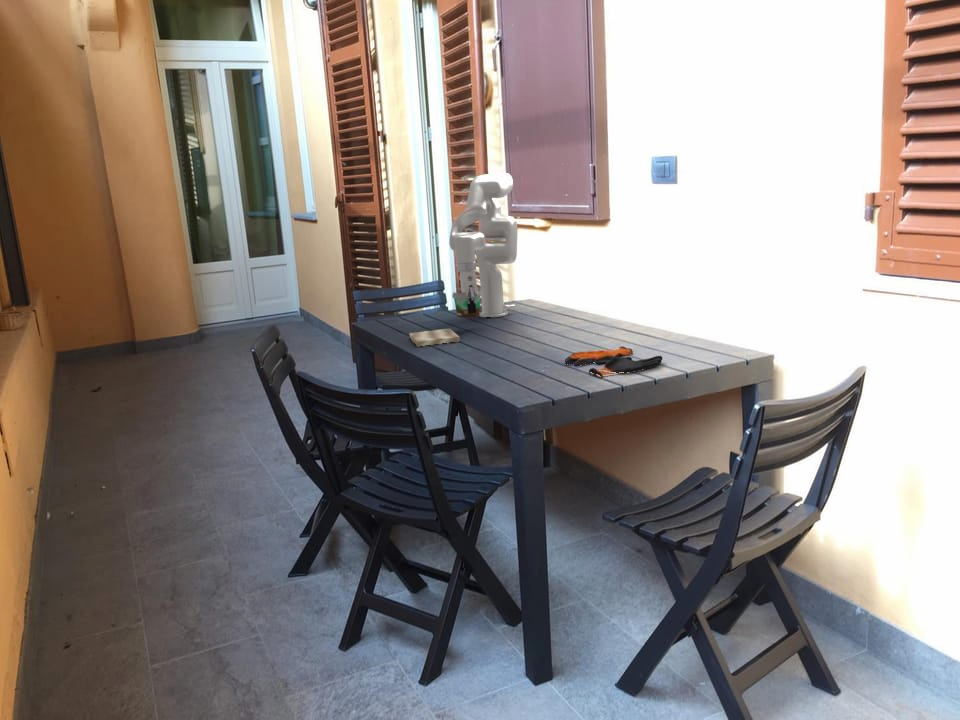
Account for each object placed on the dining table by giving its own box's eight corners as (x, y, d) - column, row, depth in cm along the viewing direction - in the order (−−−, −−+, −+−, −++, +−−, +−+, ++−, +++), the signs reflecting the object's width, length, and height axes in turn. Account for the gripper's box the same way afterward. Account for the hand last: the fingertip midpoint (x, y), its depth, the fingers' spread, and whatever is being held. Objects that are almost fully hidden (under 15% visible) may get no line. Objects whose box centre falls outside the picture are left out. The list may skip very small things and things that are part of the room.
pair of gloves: (556, 363, 251) (555, 353, 251) (620, 351, 261) (620, 341, 260) (603, 381, 227) (603, 369, 226) (672, 367, 236) (672, 356, 235)
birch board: (450, 333, 309) (449, 328, 309) (459, 341, 292) (459, 336, 292) (410, 338, 306) (409, 333, 305) (417, 347, 289) (416, 341, 288)
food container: (458, 319, 307) (457, 294, 304) (453, 317, 313) (451, 292, 310) (488, 315, 311) (486, 290, 309) (482, 312, 317) (480, 288, 314)
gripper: (480, 268, 300) (484, 314, 305) (470, 263, 316) (474, 307, 321) (461, 270, 298) (466, 317, 303) (452, 265, 315) (456, 309, 319)
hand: (470, 311), depth 312 cm, fingers closed on food container, 5 cm apart
